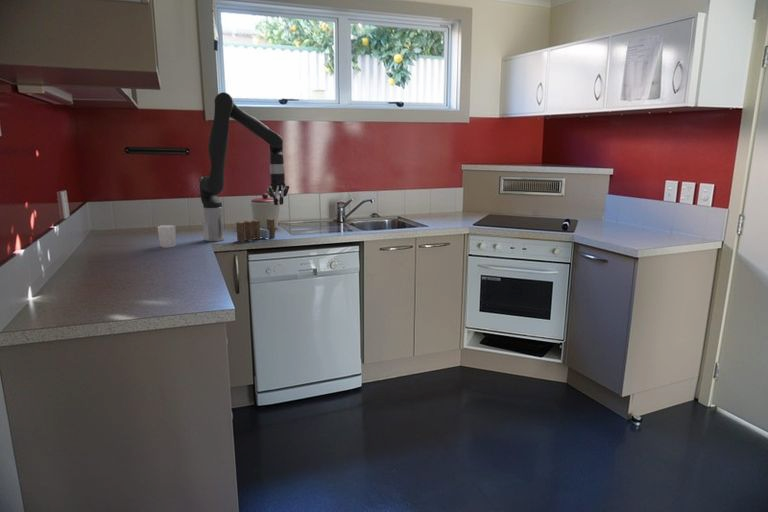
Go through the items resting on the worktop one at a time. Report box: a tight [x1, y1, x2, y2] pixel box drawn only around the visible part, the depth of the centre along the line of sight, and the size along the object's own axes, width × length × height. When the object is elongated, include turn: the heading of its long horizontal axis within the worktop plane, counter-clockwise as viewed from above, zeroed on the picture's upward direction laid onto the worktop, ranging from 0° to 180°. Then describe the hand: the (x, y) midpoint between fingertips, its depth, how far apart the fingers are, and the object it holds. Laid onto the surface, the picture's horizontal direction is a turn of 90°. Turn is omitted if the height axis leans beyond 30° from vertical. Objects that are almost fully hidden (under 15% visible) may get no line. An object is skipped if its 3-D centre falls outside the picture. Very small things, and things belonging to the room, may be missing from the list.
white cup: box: [157, 224, 176, 249], centre depth 250 cm, size 8×8×10 cm
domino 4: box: [260, 228, 271, 239], centre depth 275 cm, size 2×5×10 cm
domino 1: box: [236, 221, 246, 243], centre depth 264 cm, size 2×5×10 cm, turn 45°
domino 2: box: [243, 220, 254, 241], centre depth 268 cm, size 2×5×10 cm, turn 45°
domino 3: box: [251, 220, 261, 240], centre depth 271 cm, size 2×5×10 cm, turn 45°
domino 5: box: [267, 218, 276, 238], centre depth 277 cm, size 2×5×10 cm, turn 45°
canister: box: [249, 193, 281, 229], centre depth 304 cm, size 18×18×21 cm
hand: (278, 204), depth 278 cm, fingers open, 2 cm apart
